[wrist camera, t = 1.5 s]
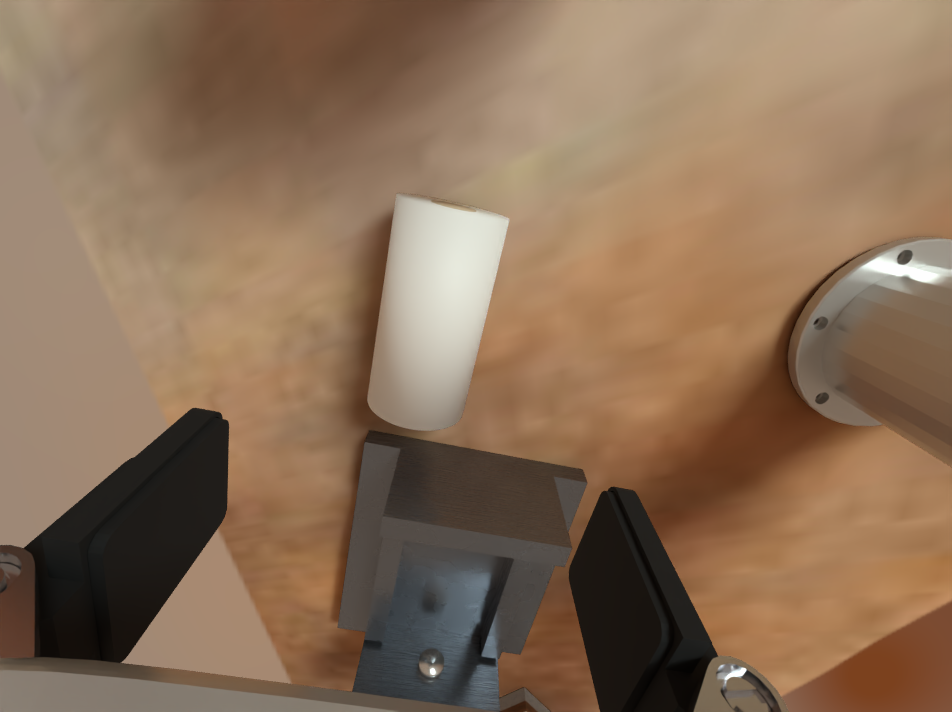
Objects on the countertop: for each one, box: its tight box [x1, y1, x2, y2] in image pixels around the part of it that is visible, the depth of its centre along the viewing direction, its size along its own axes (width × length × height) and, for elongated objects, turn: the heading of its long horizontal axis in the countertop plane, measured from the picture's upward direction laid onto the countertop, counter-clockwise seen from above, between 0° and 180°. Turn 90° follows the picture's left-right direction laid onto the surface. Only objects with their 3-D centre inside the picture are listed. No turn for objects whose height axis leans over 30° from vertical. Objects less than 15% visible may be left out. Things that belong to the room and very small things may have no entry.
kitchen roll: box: [367, 193, 509, 431], centre depth 26 cm, size 6×12×6 cm, turn 168°
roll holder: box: [338, 430, 587, 712], centre depth 33 cm, size 16×19×8 cm
